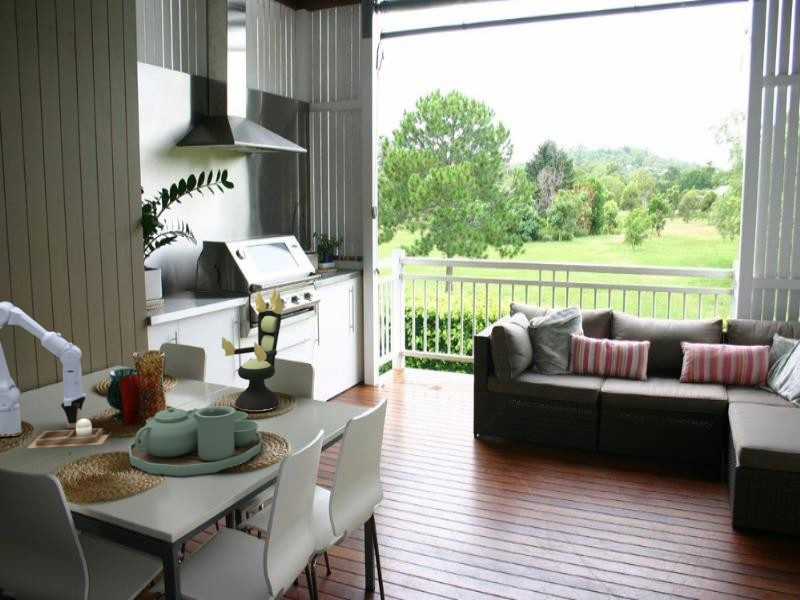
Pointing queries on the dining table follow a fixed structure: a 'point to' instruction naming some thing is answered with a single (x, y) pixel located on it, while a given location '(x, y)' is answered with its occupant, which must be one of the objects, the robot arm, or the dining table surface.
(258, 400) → the toy throne chair
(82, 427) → the cream egg
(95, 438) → the wooden divided tray
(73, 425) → the brown egg
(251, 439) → the tea set
